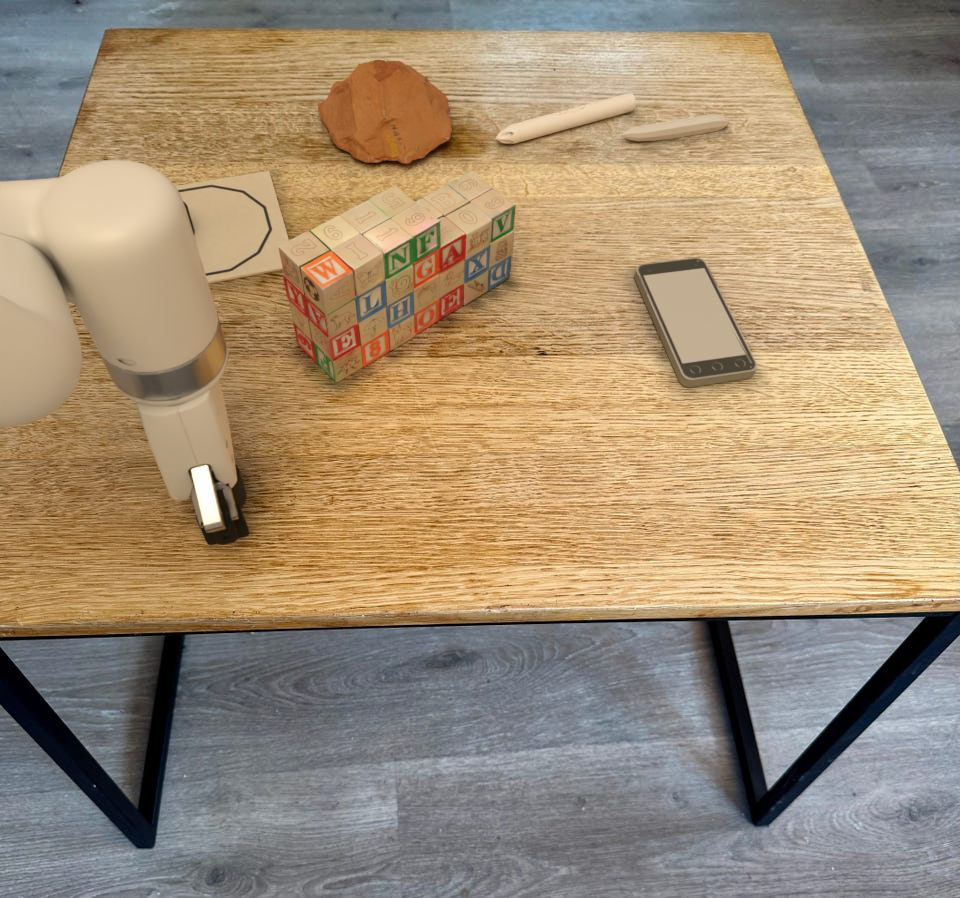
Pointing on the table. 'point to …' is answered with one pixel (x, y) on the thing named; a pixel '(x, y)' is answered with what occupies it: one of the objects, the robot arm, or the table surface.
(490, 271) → the stack of blocks
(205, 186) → the face card
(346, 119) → the stone
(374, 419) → the table surface
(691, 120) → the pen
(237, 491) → the right eye dot
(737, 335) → the smartphone
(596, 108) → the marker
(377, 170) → the table surface
